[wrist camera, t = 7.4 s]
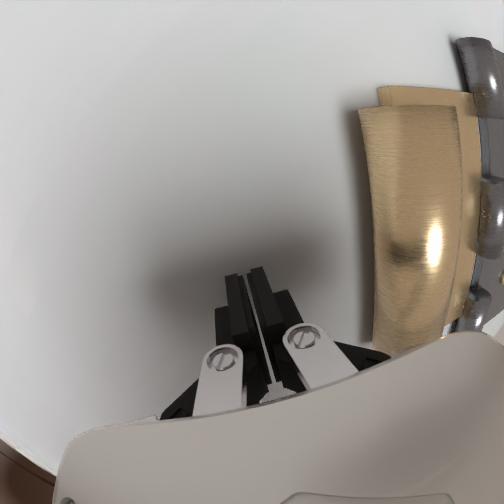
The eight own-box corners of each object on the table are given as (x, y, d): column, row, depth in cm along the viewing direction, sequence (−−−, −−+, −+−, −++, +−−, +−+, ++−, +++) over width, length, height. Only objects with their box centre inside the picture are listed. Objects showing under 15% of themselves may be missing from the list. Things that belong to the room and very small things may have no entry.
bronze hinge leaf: (453, 307, 17) (486, 338, 13) (359, 353, 17) (388, 400, 13) (459, 93, 10) (513, 95, 6) (335, 90, 10) (393, 74, 6)
